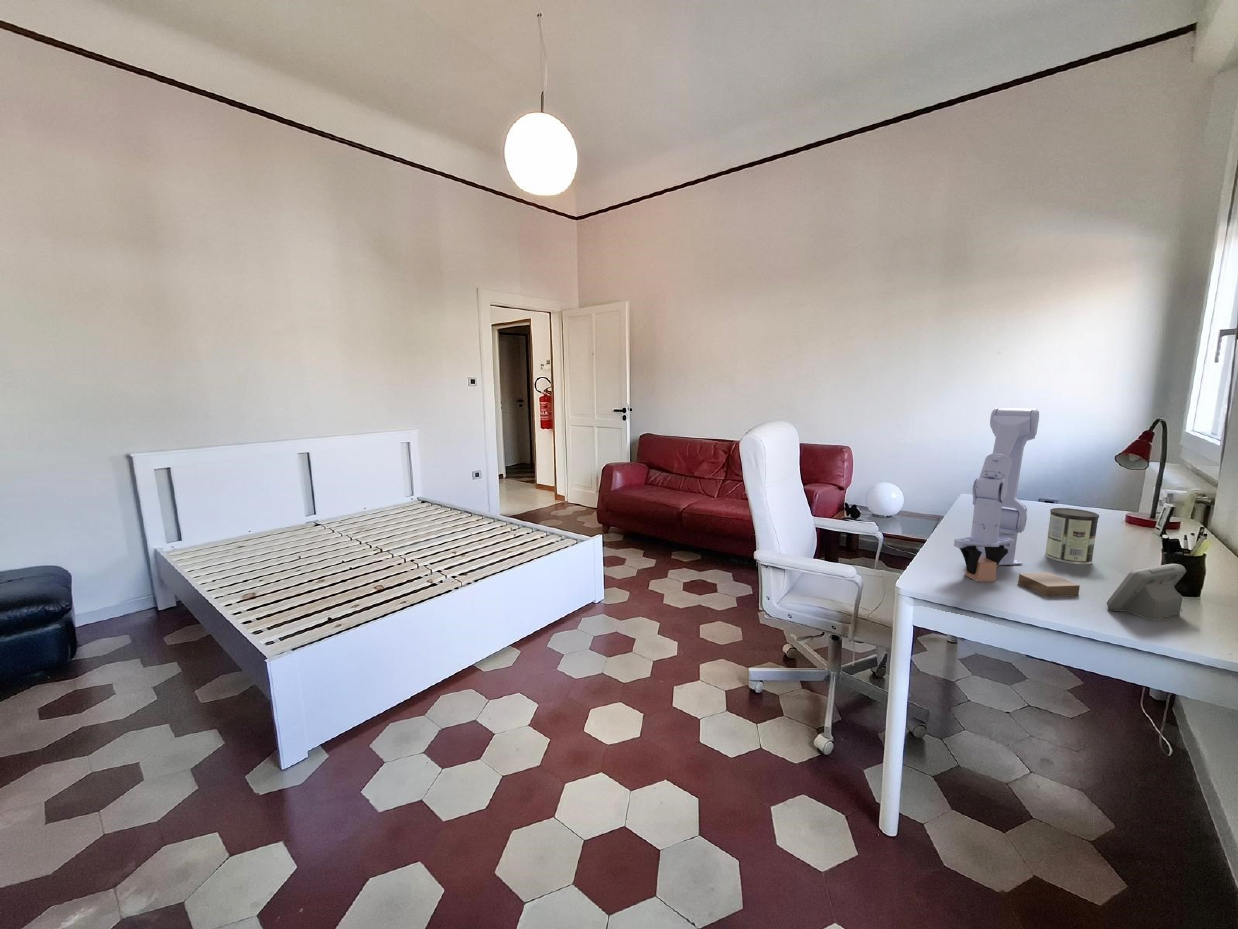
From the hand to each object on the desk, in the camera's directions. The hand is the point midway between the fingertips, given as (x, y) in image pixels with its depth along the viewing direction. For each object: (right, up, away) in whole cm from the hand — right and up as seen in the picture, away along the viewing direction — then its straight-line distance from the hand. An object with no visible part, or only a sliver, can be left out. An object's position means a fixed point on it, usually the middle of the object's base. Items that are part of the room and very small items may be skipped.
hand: (980, 572), depth 128 cm
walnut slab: (+11, -3, -7) cm, 14 cm away
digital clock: (+23, -4, -18) cm, 30 cm away
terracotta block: (0, -1, 0) cm, 1 cm away
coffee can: (+36, +1, +13) cm, 38 cm away
